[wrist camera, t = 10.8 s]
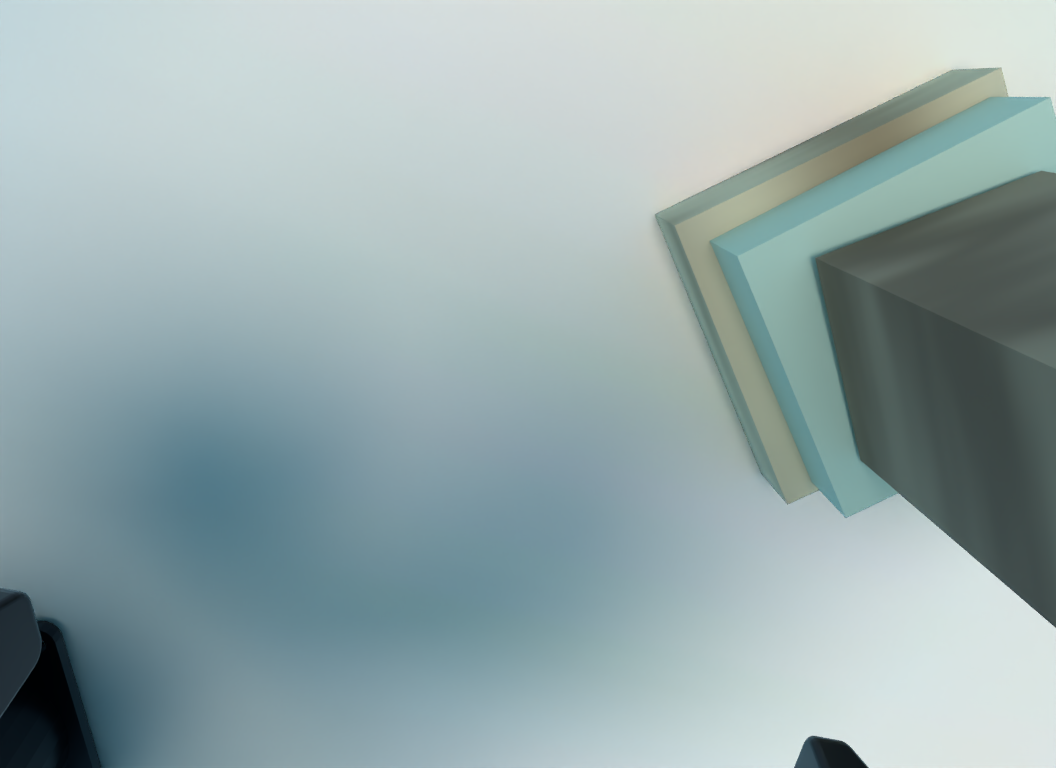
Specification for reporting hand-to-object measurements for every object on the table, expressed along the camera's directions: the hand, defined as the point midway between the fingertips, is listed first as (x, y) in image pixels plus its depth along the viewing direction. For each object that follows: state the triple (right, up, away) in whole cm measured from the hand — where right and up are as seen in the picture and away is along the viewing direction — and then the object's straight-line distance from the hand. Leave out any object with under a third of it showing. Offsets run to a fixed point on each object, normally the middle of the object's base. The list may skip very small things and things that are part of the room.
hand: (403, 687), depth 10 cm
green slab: (+10, +5, +11) cm, 16 cm away
